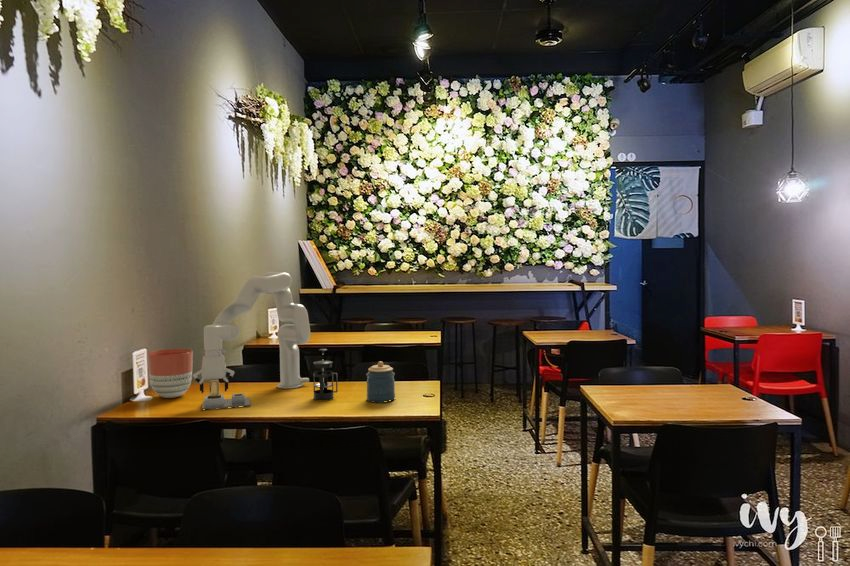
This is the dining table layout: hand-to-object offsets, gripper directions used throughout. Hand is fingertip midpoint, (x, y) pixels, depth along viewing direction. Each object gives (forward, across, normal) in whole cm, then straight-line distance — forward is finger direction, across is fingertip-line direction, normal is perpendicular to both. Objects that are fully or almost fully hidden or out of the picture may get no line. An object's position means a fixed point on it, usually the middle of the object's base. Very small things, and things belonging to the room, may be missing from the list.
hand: (214, 391), depth 256 cm
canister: (+7, -72, +14) cm, 74 cm away
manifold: (+6, -5, 0) cm, 8 cm away
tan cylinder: (+5, 0, 0) cm, 5 cm away
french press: (+6, -48, +3) cm, 49 cm away
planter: (+6, +20, -25) cm, 33 cm away
